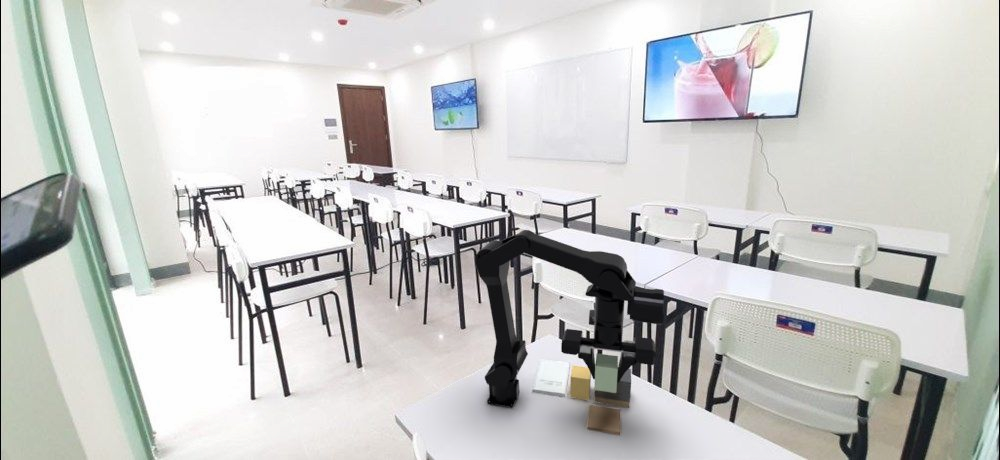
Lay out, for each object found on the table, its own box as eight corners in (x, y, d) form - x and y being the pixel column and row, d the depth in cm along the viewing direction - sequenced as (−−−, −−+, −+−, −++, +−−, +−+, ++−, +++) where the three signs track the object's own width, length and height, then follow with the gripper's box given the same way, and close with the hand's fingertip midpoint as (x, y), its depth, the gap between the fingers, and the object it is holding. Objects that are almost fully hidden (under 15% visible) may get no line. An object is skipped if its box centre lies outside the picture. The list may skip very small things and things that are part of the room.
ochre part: (570, 397, 99) (570, 376, 97) (572, 385, 103) (572, 365, 101) (589, 400, 98) (589, 379, 96) (590, 388, 102) (591, 367, 100)
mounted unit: (594, 401, 97) (595, 377, 95) (595, 387, 102) (596, 363, 100) (629, 407, 95) (631, 382, 93) (629, 392, 100) (630, 368, 97)
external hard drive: (569, 367, 110) (565, 398, 99) (540, 363, 113) (532, 394, 101) (570, 362, 110) (565, 393, 99) (540, 358, 112) (532, 388, 101)
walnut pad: (586, 429, 89) (587, 426, 89) (589, 407, 95) (589, 404, 95) (620, 435, 87) (620, 432, 87) (620, 412, 93) (620, 409, 93)
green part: (594, 389, 87) (595, 365, 85) (595, 376, 91) (596, 353, 89) (616, 393, 86) (617, 368, 84) (616, 379, 90) (617, 356, 88)
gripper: (654, 301, 88) (649, 363, 93) (567, 293, 93) (567, 352, 98) (658, 328, 78) (652, 396, 83) (561, 318, 83) (560, 382, 88)
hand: (605, 379), depth 88 cm, fingers closed on green part, 4 cm apart
